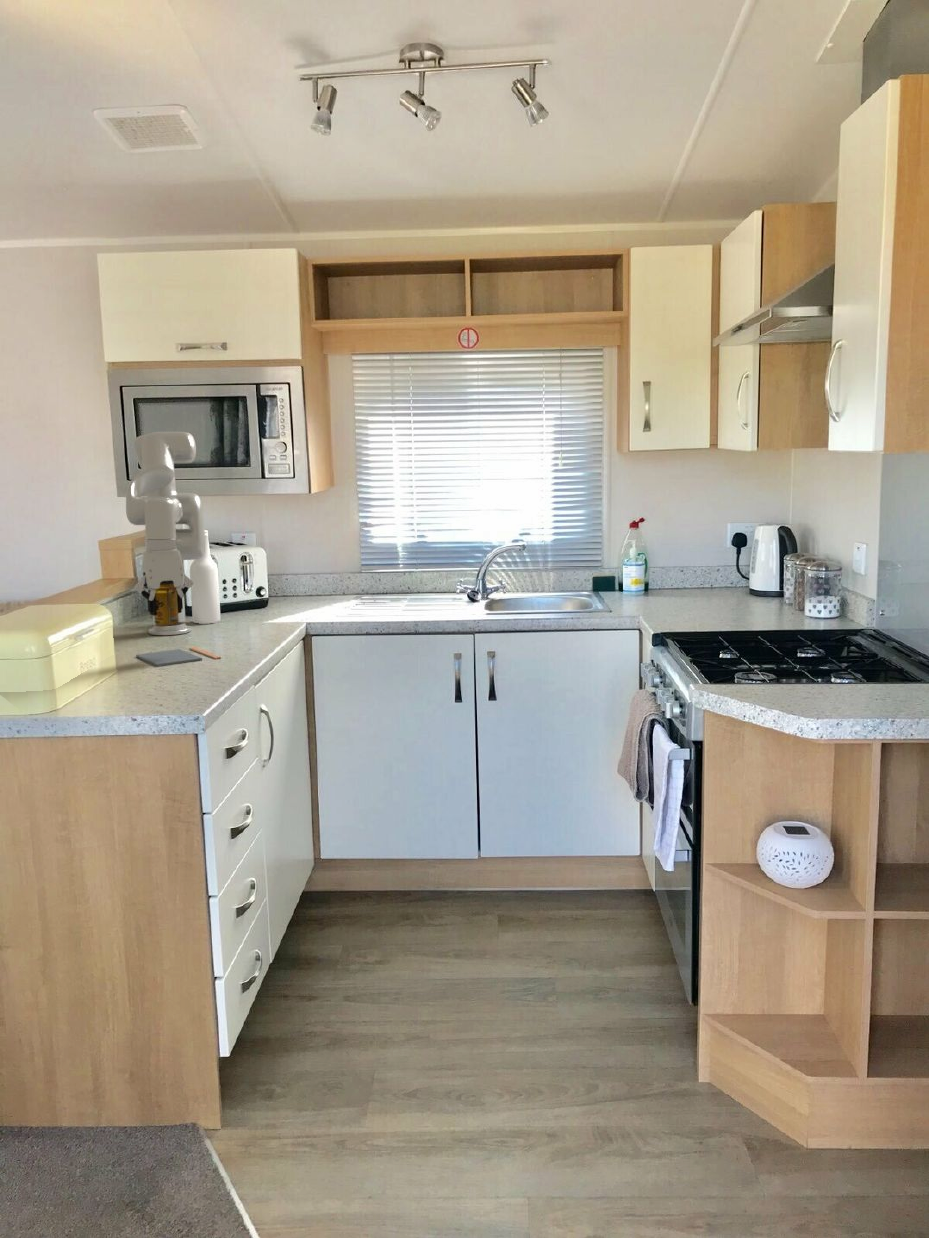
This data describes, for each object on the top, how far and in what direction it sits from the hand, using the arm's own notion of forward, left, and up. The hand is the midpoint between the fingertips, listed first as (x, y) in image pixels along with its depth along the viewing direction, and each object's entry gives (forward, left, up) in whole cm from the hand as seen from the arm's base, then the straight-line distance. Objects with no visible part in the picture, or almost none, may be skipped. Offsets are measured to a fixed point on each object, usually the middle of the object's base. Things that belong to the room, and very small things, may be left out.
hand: (165, 612), depth 253 cm
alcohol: (-49, +31, -13) cm, 59 cm away
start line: (0, +10, -12) cm, 16 cm away
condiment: (0, +1, -3) cm, 3 cm away
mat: (0, 0, -12) cm, 12 cm away
